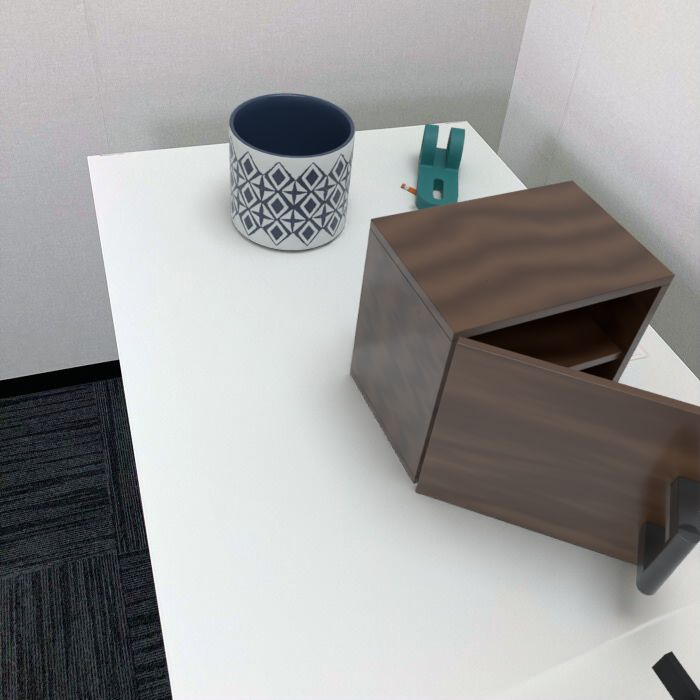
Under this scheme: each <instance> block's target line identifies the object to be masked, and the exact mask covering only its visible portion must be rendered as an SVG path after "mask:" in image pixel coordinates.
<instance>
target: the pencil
mask: <svg viewBox="0 0 700 700" xmlns="http://www.w3.org/2000/svg"><path fill="white" fill-rule="evenodd" d="M400 188H401V189H402V190H403V189H404V190H405V191H407V192H410V193H412V194H414V195H416V193H417V188H416V189H415V188H414V187H412V186H410V185H407V184H405V183H402V184H401V185H400Z"/></svg>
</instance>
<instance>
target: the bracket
mask: <svg viewBox="0 0 700 700" xmlns="http://www.w3.org/2000/svg"><path fill="white" fill-rule="evenodd" d="M439 133H440V125H439V124H432V123H425V125H424V129H423V135H422V140H421V146H420V151H419V156H418V167H417V168H418V170H417V181H416V182H417V183H416V190H417V193H416V194H415V206H416V208H417V210H420V209H425V208H430V207H435V206H441V205H446V204H451V203H456V202H458V199H459V171H460V166H461V161H462V157H463V152H464V146H465V138H466V129H465V128H459V127H453V126H452V127H451V128H450V130H449V135H448V139H447V143H446V148H442V147H437V146H438V141H439ZM434 191H438V192H440V198H436V197H434Z"/></svg>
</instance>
